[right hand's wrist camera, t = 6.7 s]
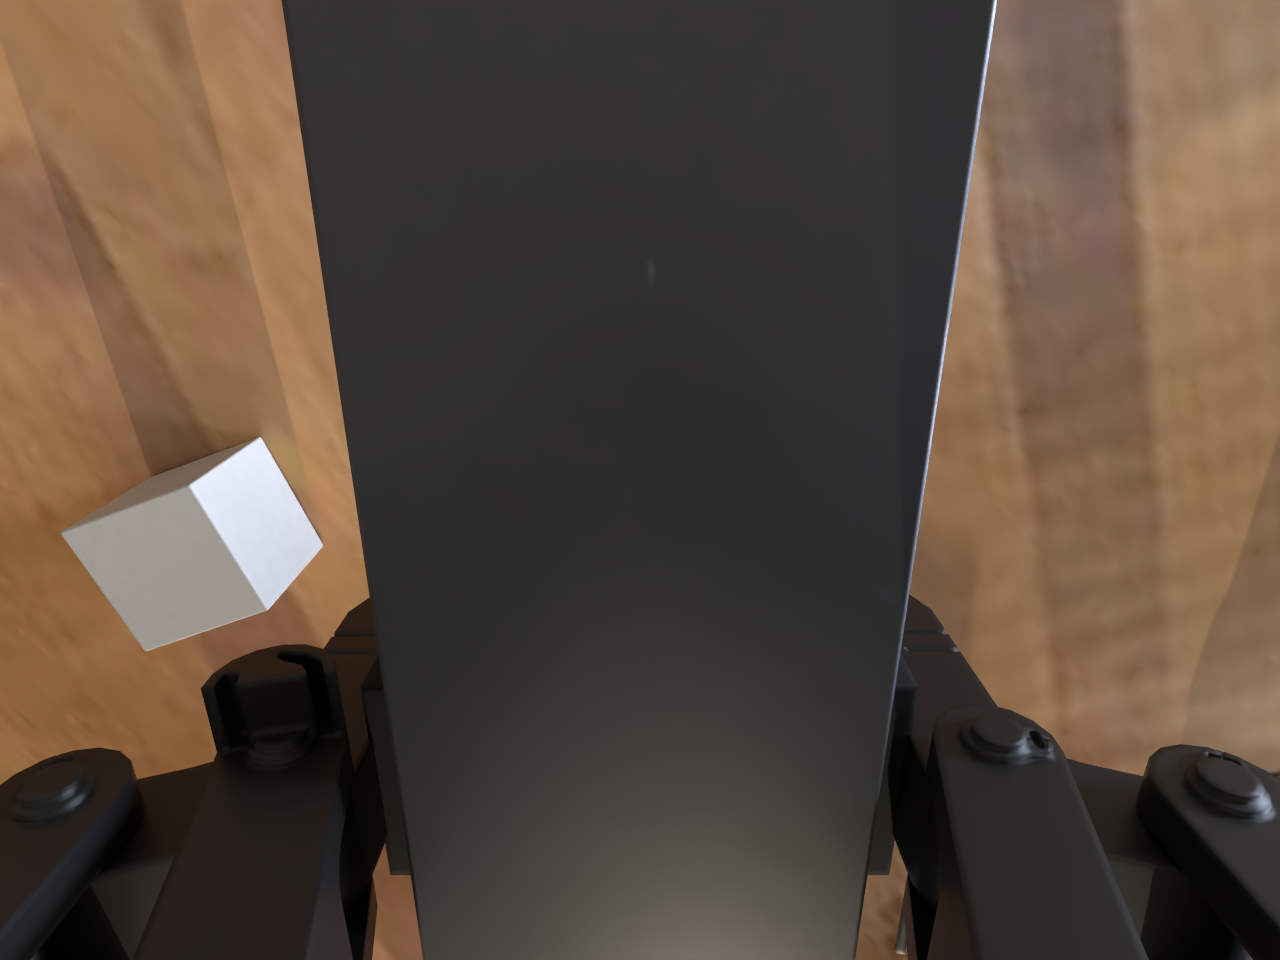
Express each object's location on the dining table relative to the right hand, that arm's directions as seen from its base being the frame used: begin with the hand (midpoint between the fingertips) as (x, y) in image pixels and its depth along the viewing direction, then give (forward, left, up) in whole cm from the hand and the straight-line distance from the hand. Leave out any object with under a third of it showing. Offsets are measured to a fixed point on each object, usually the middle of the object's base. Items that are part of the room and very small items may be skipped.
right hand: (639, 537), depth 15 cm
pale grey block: (+16, +6, -15) cm, 22 cm away
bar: (0, -9, 0) cm, 9 cm away
